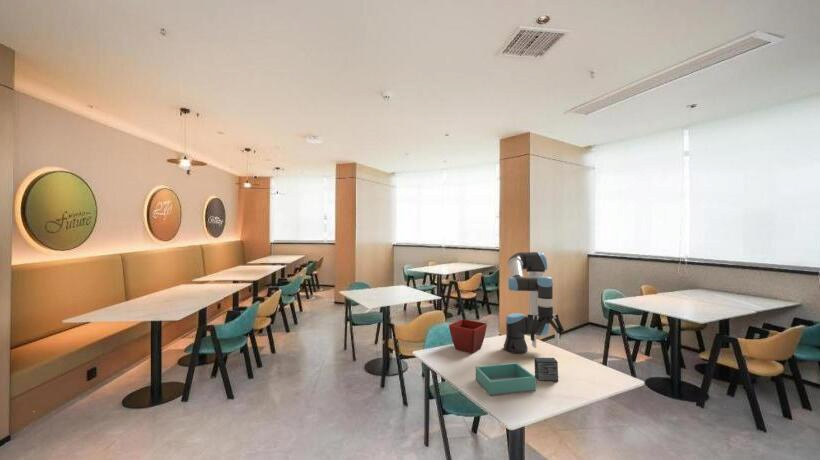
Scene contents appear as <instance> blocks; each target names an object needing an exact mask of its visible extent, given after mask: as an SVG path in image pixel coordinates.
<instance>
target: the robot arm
mask: <svg viewBox="0 0 820 460" xmlns="http://www.w3.org/2000/svg"><path fill="white" fill-rule="evenodd" d="M507 267H508V269H509V271H510V277H508V280H507V282H508V283H507V284H508V287H507V288H508V290H510V291H512V292H513V291H514V292H529V311H528V313H527V315H526V316H525V314H524V313H520V312H518V313H517V312H515V313H510V314H509V313H508V315H507V316H506V318H505V331H506V332H505V335H506V336H505V341H504V343H503V350H504V351H506V352H507V353H511V354H518V355H519V354H525V353H528V345H527V342H526V338H525V336H526V335H527V336H530V341H531V345H532V347H533V348H537V336H538V337H540V336H542V337H546V336H547V335H548V334H549V330H550V325H551V326H552V328H553V329H554V331H555V332H554V344H555V345H556V346H558V347H559V346H560V339H561V334H562V333H563V332H565V329H564V327H563V325H562V323H561V321H560V319H559V314H557V313H554V307H553V306H554V299H553V294H554V290H553V287H554V286H553V285H554V283H553V277H552V276H548V275H547V276H546V275H545V273H546V270H548V262H547V257H546V255H545V253H544V252H539V251H537V252H536V251H532V252H531V251H530V252H529V251H527V252H525V251H524V252H523V251H520V252H517V253H515V254H512V255H511V256H510V257H509V259H508V261H507ZM523 270H526V273H527V275H528V277H525V275H524V271H523ZM543 275H545V276H543Z"/></svg>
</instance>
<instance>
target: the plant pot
mask: <svg viewBox="0 0 820 460" xmlns="http://www.w3.org/2000/svg"><path fill="white" fill-rule="evenodd" d="M487 327H488V323H487V322H486V323H485V322H482V321H481V322H480V321H475V320H470V319H465V318H464V319H460V320H458V321H455V322H453V323H450V324H448V328H449V334H450V337H451V341H452V344H453V346H454V349H455V350H456V351H459V352H464V353H467V354H474V353H475V352H477V351H479V350H481V349H482V346H483V343H484V340H485V337H486V333H487Z"/></svg>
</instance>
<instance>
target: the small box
mask: <svg viewBox="0 0 820 460" xmlns="http://www.w3.org/2000/svg"><path fill="white" fill-rule="evenodd" d="M533 358H534V376H535V377H536V382H553V383H555V382H557V383H558V382H559V372H558V371H559V370H558V369H559V365H558V363H559V362H558V360H557V359H556V358H555V357H537V356H536V357H533Z"/></svg>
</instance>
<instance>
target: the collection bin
mask: <svg viewBox="0 0 820 460" xmlns="http://www.w3.org/2000/svg"><path fill="white" fill-rule="evenodd" d="M475 381H476V382H477V383H478V384H479V386H480V387H481V388H482V389H483V390H484V391H485V392H486V393H487V395H488V396H489V397H490V396H491V397H498V396H507V395H515V394H523V393H524V394H525V393H531V392H536V391H537V385H536V383H537V379H536V377H535V374H534V375H533V373H531V372H530V371H529V370H528V369H526V368H524V366H522V365H520V364H519V363H518V362H511V363H501V364H492V365H489V364H488V365H482V366H480V365H479V366H475Z"/></svg>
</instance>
